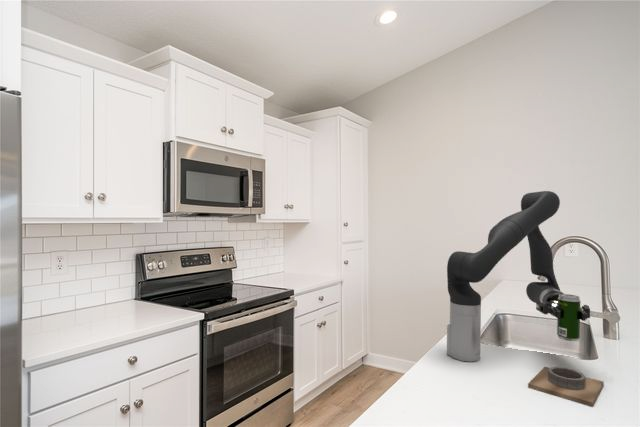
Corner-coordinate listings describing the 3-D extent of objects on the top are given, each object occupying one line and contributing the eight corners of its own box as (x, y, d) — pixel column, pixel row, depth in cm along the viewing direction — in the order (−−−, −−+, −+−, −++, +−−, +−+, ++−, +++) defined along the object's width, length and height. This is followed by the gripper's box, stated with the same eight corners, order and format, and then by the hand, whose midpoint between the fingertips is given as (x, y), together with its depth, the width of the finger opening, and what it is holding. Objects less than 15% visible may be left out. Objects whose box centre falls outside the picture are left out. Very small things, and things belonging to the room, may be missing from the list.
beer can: (574, 342, 104) (575, 299, 104) (553, 337, 108) (554, 295, 108) (583, 339, 107) (584, 296, 107) (562, 334, 111) (563, 293, 111)
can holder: (528, 387, 100) (528, 374, 100) (544, 369, 112) (544, 357, 112) (592, 406, 91) (592, 392, 91) (603, 385, 102) (603, 372, 102)
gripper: (530, 288, 123) (542, 300, 107) (582, 292, 119) (602, 304, 103) (529, 311, 123) (541, 326, 107) (581, 316, 119) (602, 332, 103)
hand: (571, 315), depth 105 cm, fingers closed on beer can, 5 cm apart
